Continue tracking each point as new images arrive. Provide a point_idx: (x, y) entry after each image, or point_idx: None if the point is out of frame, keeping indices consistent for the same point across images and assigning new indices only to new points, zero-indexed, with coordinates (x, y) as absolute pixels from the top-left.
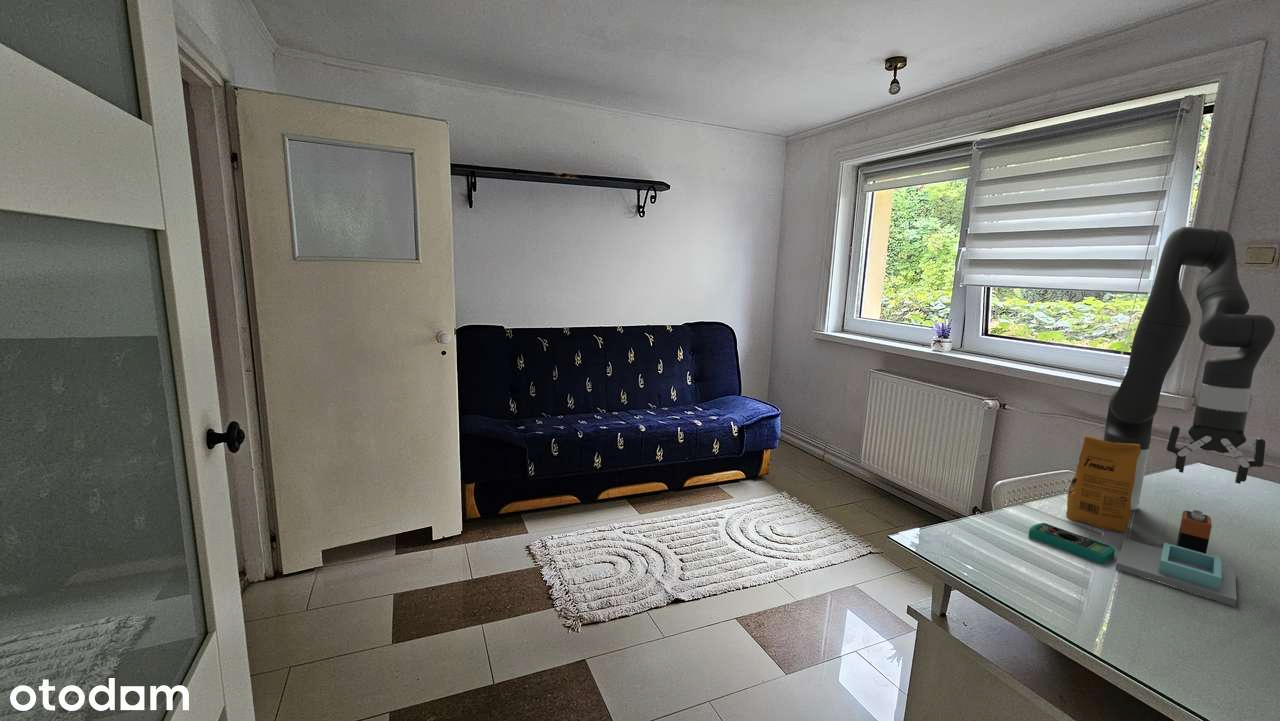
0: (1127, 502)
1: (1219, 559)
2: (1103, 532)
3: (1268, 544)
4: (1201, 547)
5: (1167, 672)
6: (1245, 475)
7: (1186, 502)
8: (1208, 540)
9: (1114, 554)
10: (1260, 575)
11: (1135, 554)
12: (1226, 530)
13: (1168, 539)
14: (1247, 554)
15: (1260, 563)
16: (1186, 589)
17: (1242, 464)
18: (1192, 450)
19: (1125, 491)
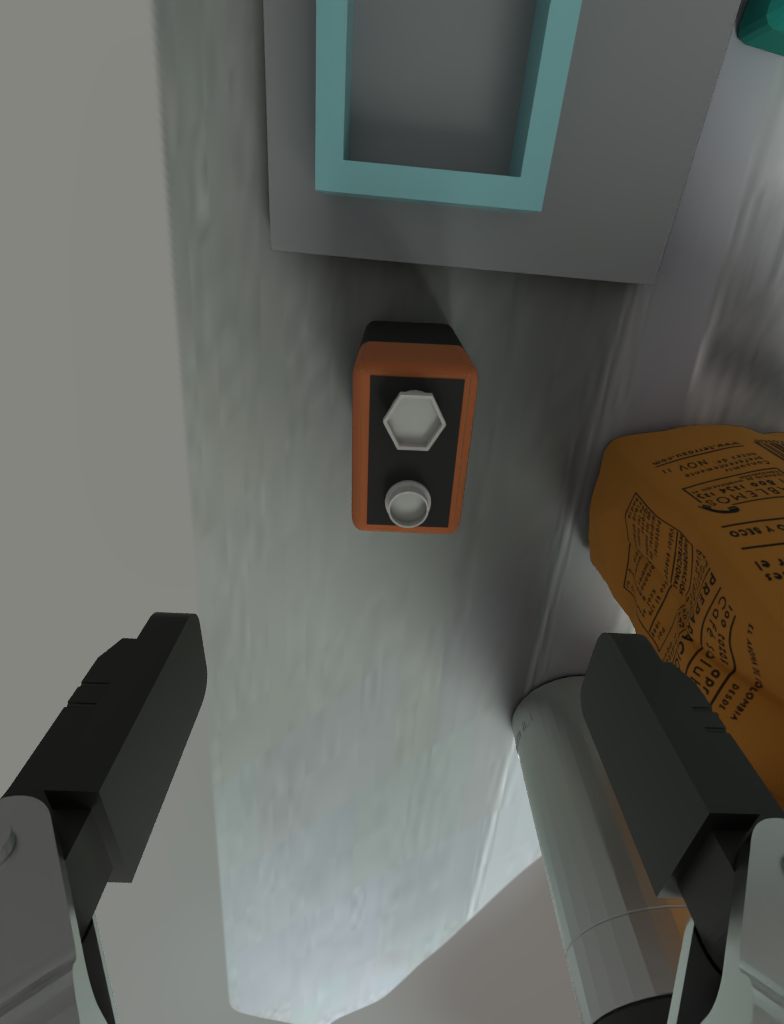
0: (690, 503)
1: (322, 153)
2: (691, 382)
3: None
4: (382, 332)
5: None
6: (81, 702)
7: (381, 836)
8: (360, 346)
9: (748, 15)
10: (203, 357)
11: (664, 40)
12: (298, 706)
13: None
14: (246, 547)
15: (211, 490)
16: None
17: (23, 845)
18: (772, 996)
19: (748, 537)
